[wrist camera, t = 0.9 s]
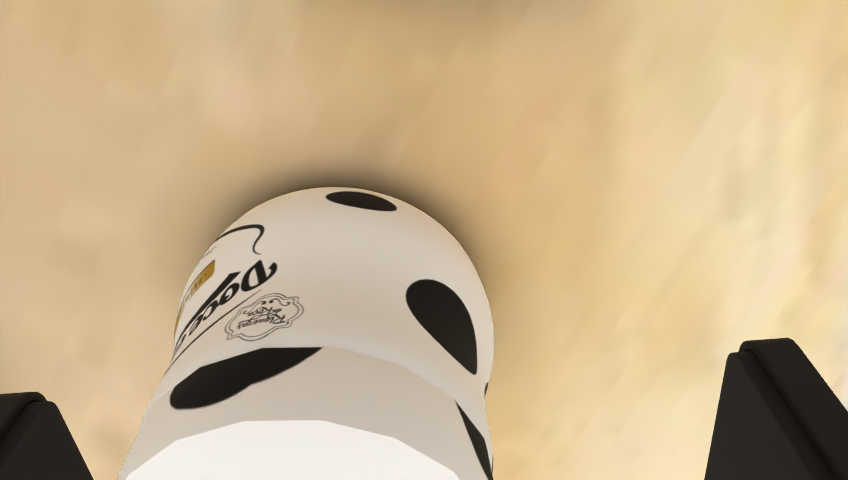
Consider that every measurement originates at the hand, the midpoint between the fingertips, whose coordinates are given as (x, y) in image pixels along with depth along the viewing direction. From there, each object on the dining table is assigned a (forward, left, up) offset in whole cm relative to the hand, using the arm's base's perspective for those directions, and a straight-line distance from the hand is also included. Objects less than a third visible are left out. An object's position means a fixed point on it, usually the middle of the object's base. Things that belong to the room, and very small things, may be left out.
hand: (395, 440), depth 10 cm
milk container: (+11, -14, -28) cm, 33 cm away
